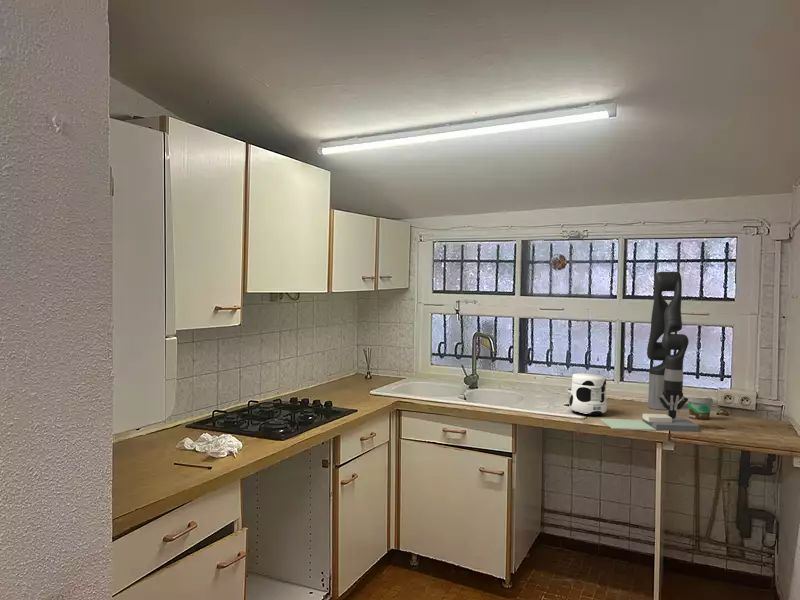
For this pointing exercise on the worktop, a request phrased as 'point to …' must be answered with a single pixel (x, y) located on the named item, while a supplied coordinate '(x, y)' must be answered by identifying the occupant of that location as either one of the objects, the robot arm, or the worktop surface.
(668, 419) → the cream flat block
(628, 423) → the mat
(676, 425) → the platform
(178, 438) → the worktop surface
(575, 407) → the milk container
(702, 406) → the food container
